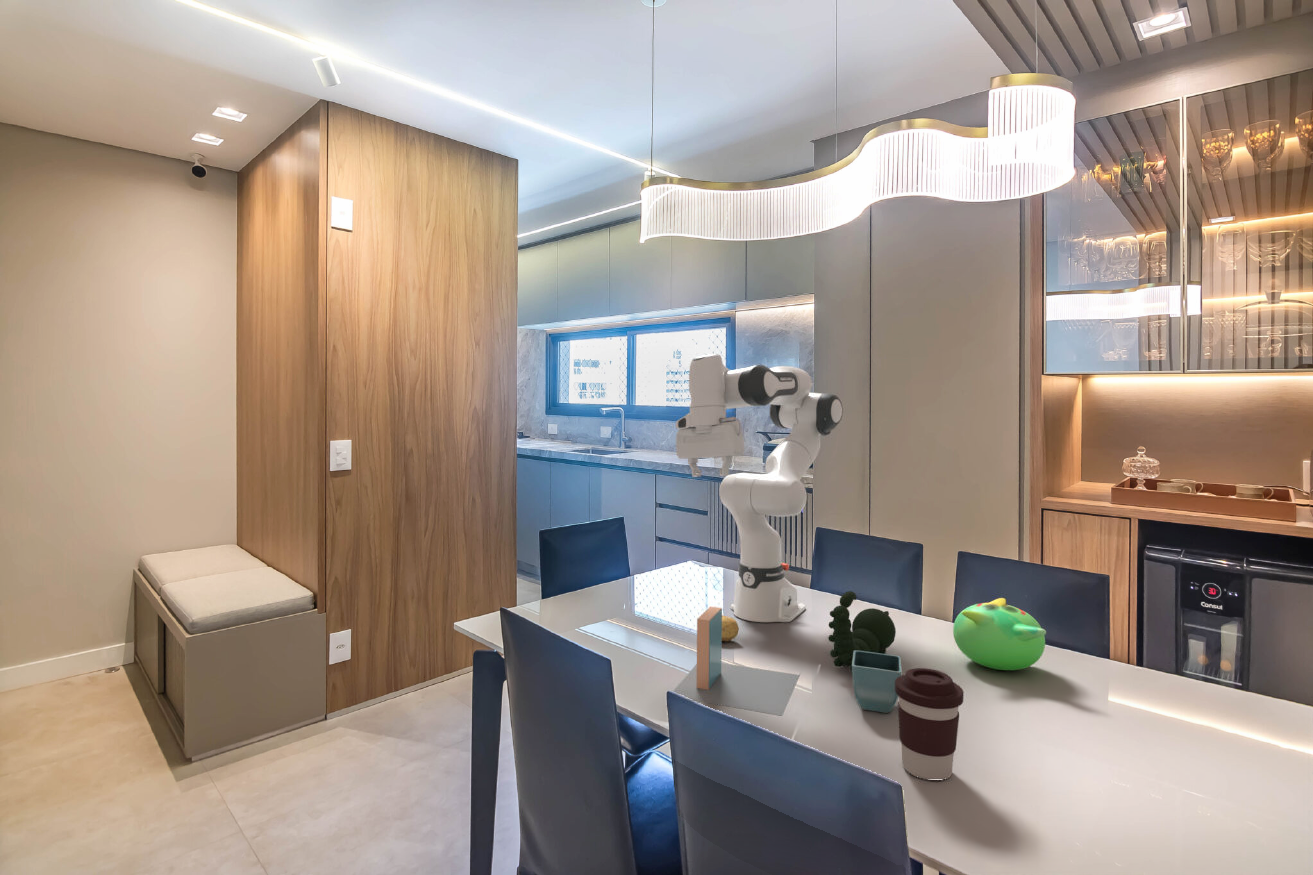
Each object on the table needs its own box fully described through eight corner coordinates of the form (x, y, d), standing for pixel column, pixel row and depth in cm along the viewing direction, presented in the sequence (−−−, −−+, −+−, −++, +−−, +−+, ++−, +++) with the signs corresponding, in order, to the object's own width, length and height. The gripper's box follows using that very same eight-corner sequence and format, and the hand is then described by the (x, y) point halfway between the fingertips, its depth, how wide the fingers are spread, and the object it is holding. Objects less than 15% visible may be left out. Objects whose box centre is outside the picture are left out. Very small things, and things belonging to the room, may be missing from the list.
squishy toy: (1039, 661, 148) (1041, 597, 147) (1049, 689, 133) (1051, 618, 132) (952, 648, 156) (954, 587, 155) (952, 673, 140) (953, 606, 140)
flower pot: (899, 700, 127) (900, 655, 127) (900, 720, 119) (902, 672, 119) (852, 693, 130) (853, 649, 130) (850, 712, 122) (851, 665, 121)
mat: (669, 698, 127) (669, 695, 127) (700, 662, 146) (700, 659, 146) (781, 718, 119) (781, 715, 119) (799, 677, 138) (799, 674, 138)
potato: (726, 649, 154) (726, 623, 154) (691, 637, 162) (691, 612, 162) (743, 642, 159) (744, 616, 159) (708, 631, 167) (709, 606, 166)
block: (696, 687, 131) (697, 618, 130) (709, 671, 139) (710, 606, 139) (709, 689, 130) (709, 620, 129) (721, 673, 138) (722, 607, 138)
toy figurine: (859, 692, 135) (908, 650, 153) (857, 604, 133) (906, 571, 151) (818, 679, 141) (869, 640, 159) (815, 595, 139) (868, 564, 157)
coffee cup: (882, 754, 107) (884, 664, 106) (940, 751, 108) (942, 662, 107) (911, 788, 97) (913, 690, 97) (974, 786, 98) (977, 688, 97)
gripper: (748, 416, 154) (751, 475, 153) (689, 423, 169) (691, 477, 168) (730, 415, 150) (732, 475, 149) (671, 422, 165) (672, 477, 164)
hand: (710, 476), depth 159 cm, fingers open, 8 cm apart
